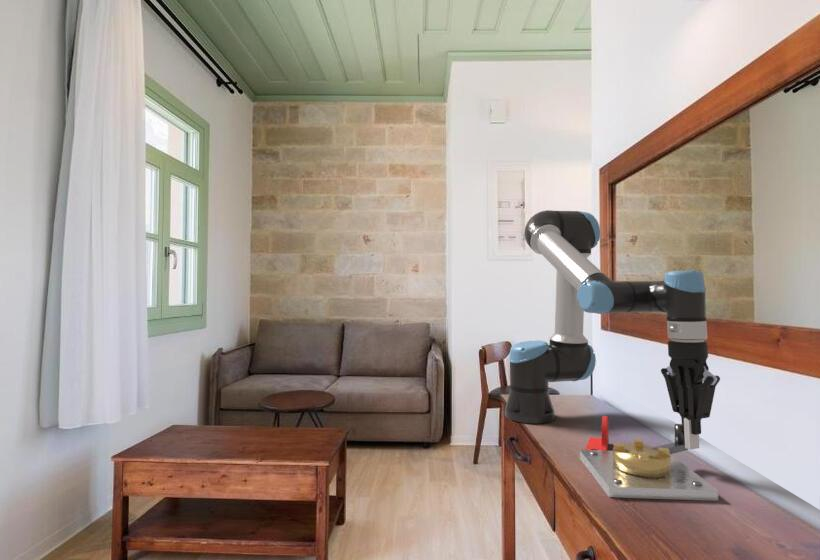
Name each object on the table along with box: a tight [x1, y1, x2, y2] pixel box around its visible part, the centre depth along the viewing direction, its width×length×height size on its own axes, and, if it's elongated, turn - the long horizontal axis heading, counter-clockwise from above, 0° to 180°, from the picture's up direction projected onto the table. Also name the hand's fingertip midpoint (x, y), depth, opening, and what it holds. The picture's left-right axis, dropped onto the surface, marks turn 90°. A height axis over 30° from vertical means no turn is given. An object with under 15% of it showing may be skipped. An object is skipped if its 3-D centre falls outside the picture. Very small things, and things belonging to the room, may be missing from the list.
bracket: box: [584, 415, 610, 451], centre depth 114 cm, size 12×4×8 cm, turn 152°
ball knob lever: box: [612, 423, 689, 477], centre depth 99 cm, size 20×11×7 cm, turn 115°
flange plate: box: [579, 449, 719, 502], centre depth 97 cm, size 20×20×2 cm
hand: (692, 447), depth 99 cm, fingers closed
